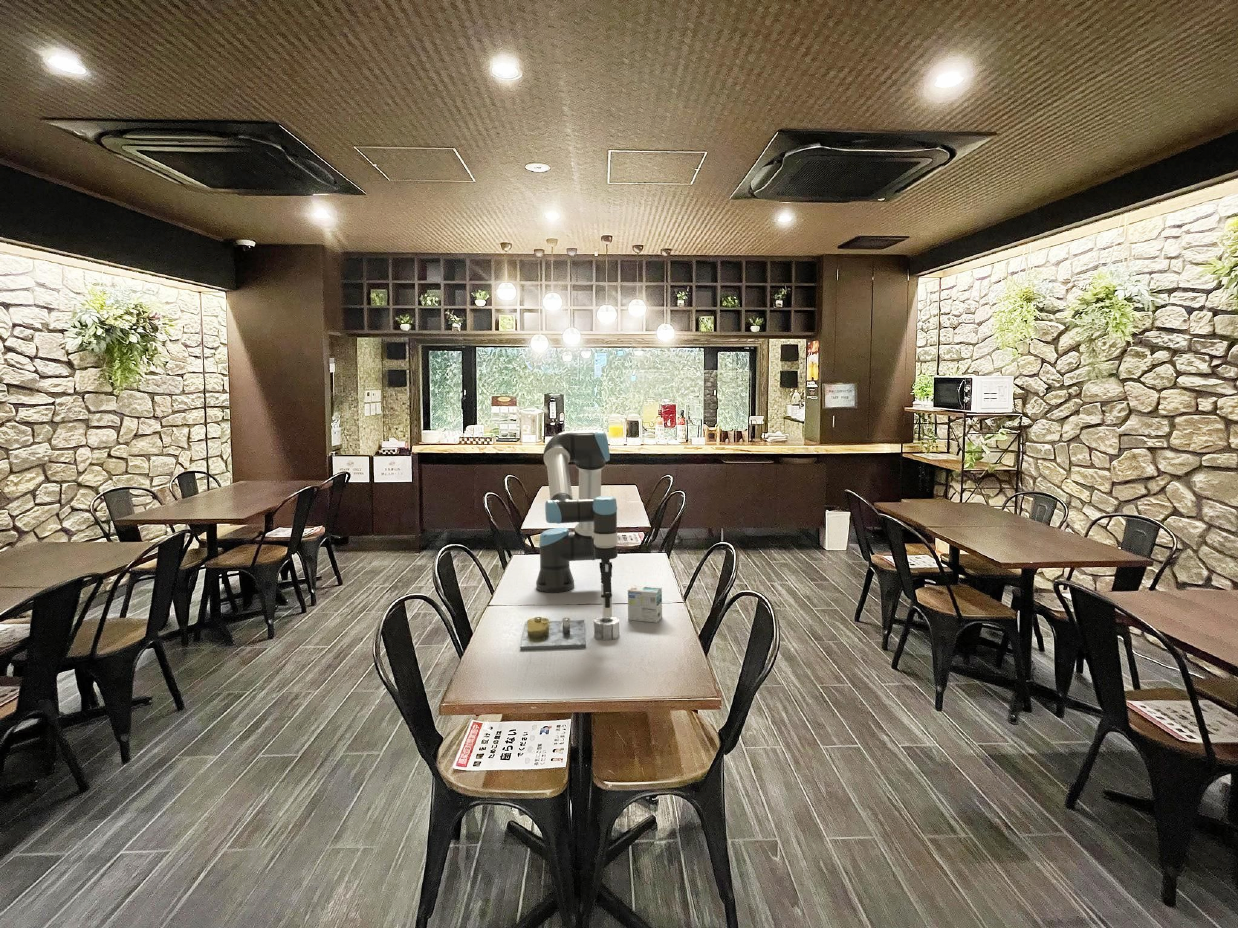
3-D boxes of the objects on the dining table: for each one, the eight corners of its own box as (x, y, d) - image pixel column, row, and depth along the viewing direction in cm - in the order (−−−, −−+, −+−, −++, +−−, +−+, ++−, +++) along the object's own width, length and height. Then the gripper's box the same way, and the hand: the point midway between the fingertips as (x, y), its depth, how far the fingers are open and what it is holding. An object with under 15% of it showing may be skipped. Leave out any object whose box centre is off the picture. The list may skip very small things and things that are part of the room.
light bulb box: (662, 616, 244) (662, 586, 242) (657, 623, 237) (657, 592, 236) (633, 613, 247) (633, 584, 246) (627, 620, 241) (627, 589, 240)
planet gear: (594, 631, 230) (593, 616, 230) (618, 630, 231) (618, 615, 230) (594, 640, 222) (594, 625, 222) (619, 639, 223) (619, 624, 222)
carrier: (525, 625, 237) (524, 607, 236) (584, 623, 238) (584, 605, 237) (520, 650, 215) (519, 630, 214) (585, 647, 216) (585, 628, 216)
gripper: (592, 537, 235) (593, 599, 237) (594, 554, 210) (596, 623, 213) (615, 536, 236) (615, 598, 238) (619, 554, 211) (620, 622, 213)
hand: (606, 610), depth 225 cm, fingers open, 13 cm apart
